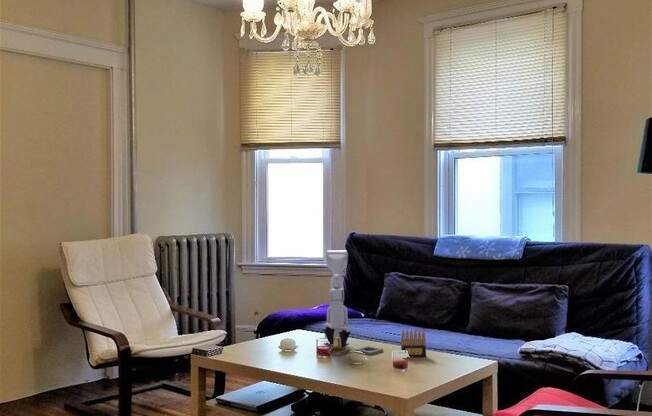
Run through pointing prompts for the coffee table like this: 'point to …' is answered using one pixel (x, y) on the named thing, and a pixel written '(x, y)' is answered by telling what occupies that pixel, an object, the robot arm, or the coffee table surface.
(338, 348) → the brass peg
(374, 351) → the socket block
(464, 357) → the coffee table surface
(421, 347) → the ammunition clip
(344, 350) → the rack block
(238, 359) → the coffee table surface
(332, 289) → the robot arm
